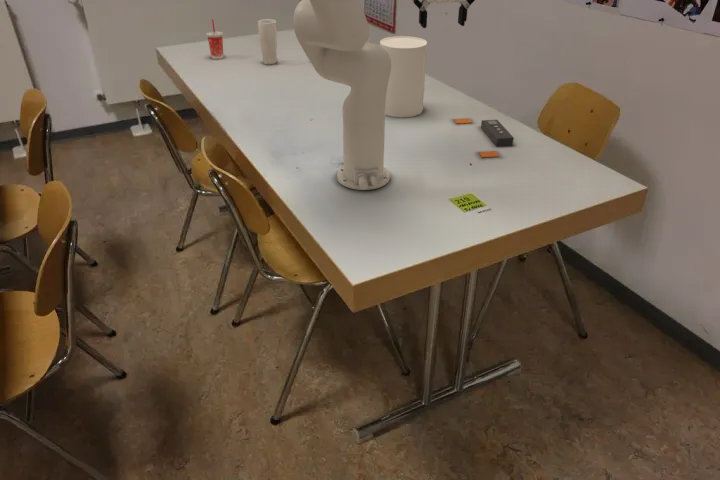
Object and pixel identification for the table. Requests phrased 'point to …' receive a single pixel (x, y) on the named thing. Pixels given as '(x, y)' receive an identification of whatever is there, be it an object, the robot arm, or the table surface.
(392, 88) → the canister
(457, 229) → the table surface
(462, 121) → the tiles
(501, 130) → the remote
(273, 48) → the drinking glass
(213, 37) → the beverage cup
